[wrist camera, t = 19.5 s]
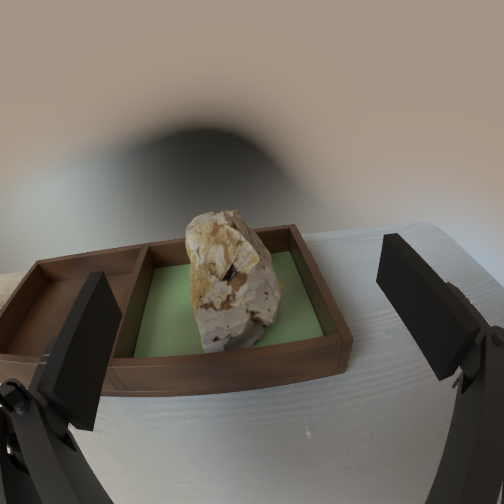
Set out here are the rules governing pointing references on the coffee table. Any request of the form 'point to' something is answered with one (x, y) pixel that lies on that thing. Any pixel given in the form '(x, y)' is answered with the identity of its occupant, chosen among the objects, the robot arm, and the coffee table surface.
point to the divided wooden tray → (178, 322)
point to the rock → (230, 282)
